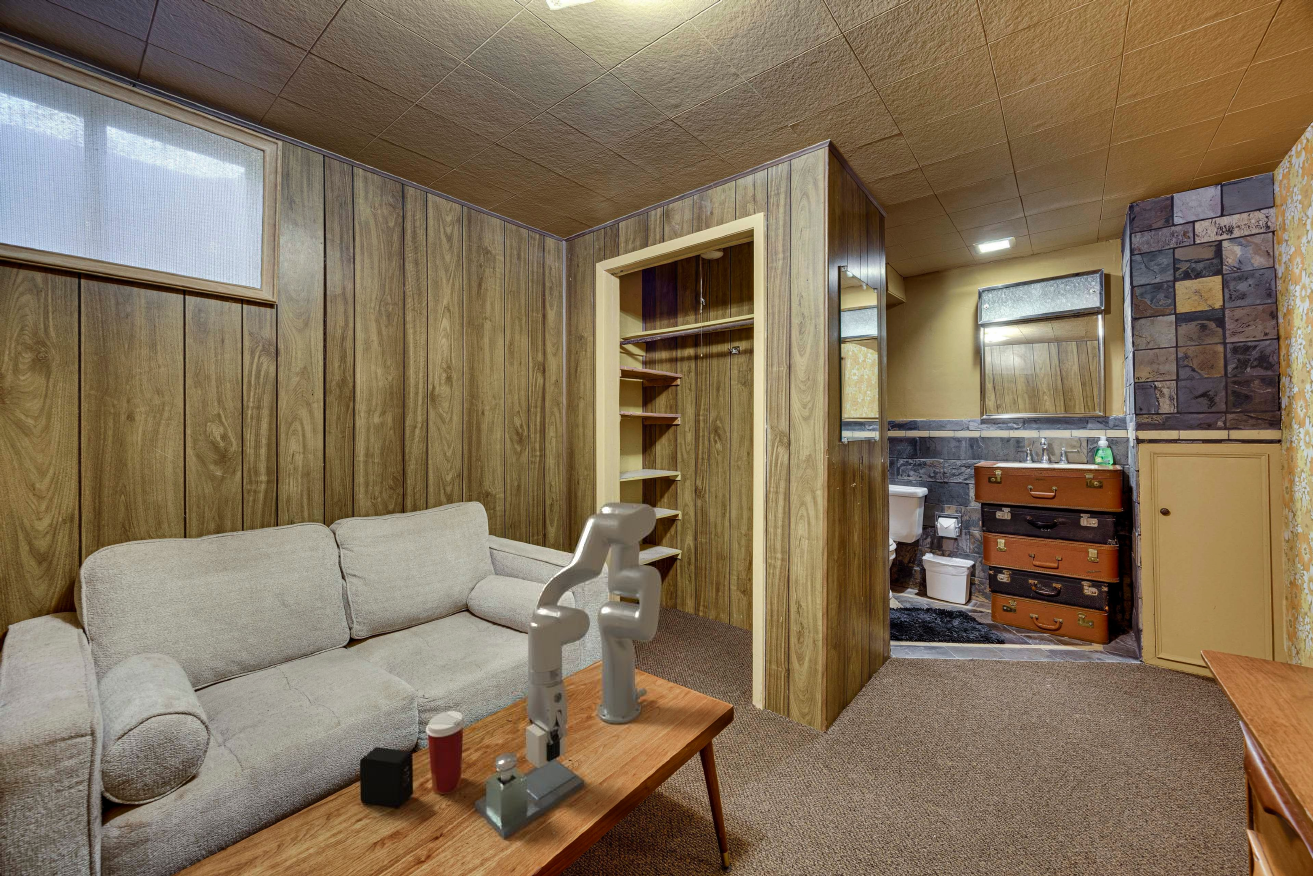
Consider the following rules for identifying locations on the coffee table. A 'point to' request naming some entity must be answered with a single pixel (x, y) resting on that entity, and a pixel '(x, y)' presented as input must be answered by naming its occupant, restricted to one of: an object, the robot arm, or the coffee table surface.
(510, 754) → the pin
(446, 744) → the coffee cup
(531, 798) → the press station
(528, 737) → the block
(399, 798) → the electronic device
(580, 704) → the coffee table surface
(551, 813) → the coffee table surface
